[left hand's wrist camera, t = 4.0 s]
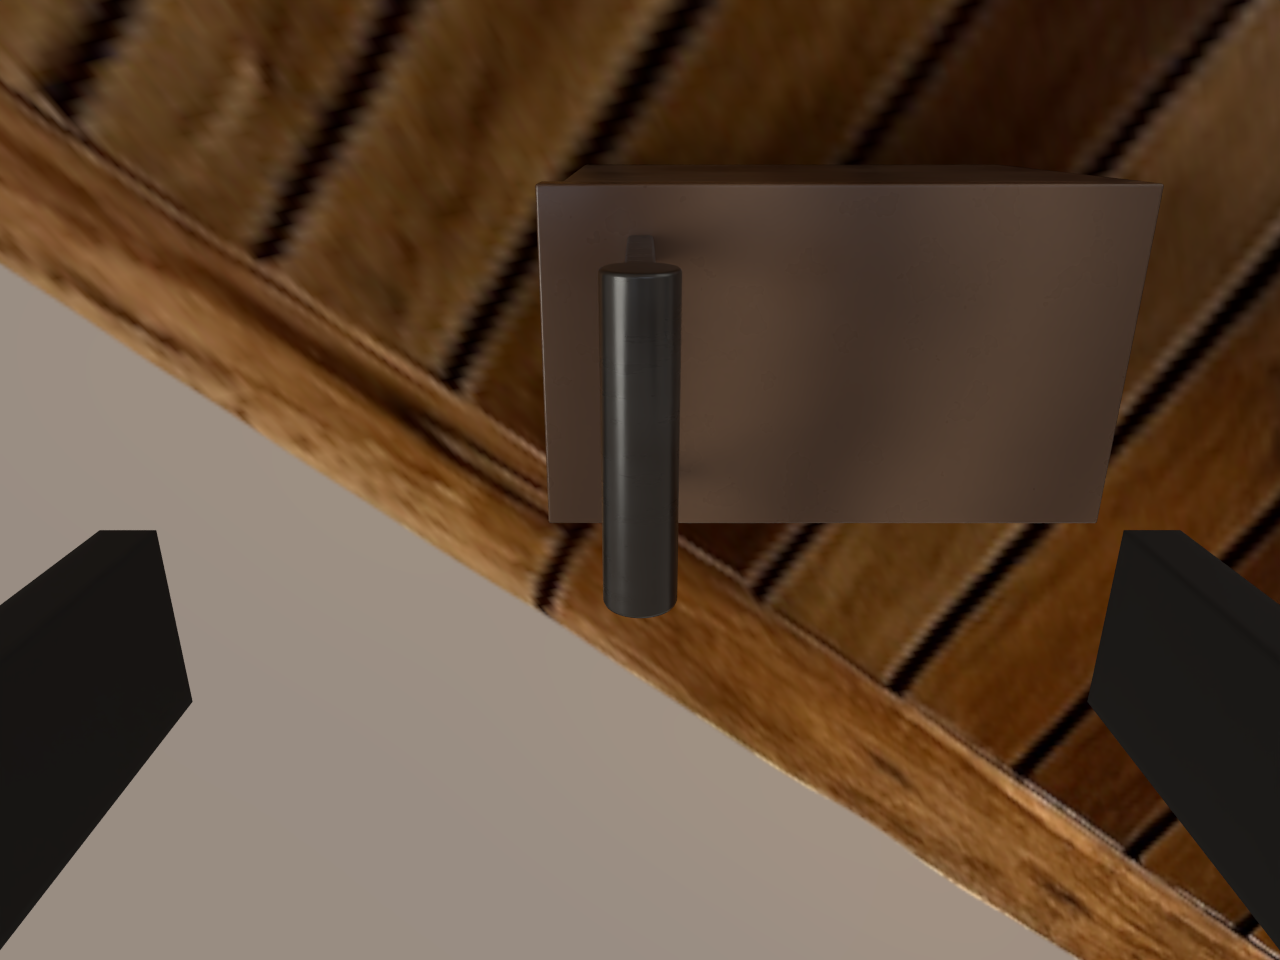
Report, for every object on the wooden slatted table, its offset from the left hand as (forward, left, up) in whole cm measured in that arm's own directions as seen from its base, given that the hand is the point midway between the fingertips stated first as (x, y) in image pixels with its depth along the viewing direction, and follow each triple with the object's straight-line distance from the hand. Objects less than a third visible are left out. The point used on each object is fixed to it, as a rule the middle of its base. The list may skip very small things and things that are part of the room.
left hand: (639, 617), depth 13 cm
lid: (-3, +5, -15) cm, 16 cm away
